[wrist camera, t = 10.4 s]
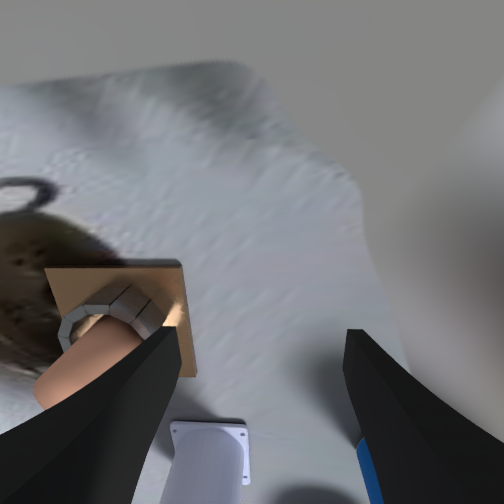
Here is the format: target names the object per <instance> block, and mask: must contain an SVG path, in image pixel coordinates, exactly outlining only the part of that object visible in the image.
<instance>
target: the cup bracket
mask: <svg viewBox="0 0 504 504" xmlns="http://www.w3.org/2000/svg"><path fill="white" fill-rule="evenodd" d="M44 270H45V273H46V275H47V278H48V281H49V284H50V287H51V289H52V292H53V295H54V298H55V301H56V303H57V306H58V309H59V312H60V315H61V317H62V322H61V326H60V329H59V332H58V335H59V336H58V338H59V341H60V344H61V346H62V349H63V352H64V353H65V352H66V351H67V350H68V349H69V348H70V347H71V346H72V345H73V344H74V343H75V342H76V341H77V340H78V339H79V338H80V337H81V336H82V335H83V334H84V333H85V332H86V331H87V330H88V329H89V328H90V327H91V326H92V325H93V324H94V323H96V322H97V321H98V320H99V319H100V318H101V317H102V316H103V315H111V316H113V317H115V318H118V319H120V320H122V321H124V322H126V323H128V324H130V325H131V326H132V327H133V328H134V329H135V330H136V331H137V332H138V334H139V335H140V336H141V337H142V338H143V339H144V340H146V339H147V338H148V337H149V336H150V335H152V334H153V333H154V332H155V331H156V330H158V329H159V328H160V327H161V326H176V330H177V336H178V342H179V347H180V353H181V359H182V365H181V369H180V373H179V376H178V377H196V374H197V367H196V360H195V353H194V346H193V339H192V332H191V325H190V318H189V311H188V304H187V297H186V290H185V283H184V276H183V269H182V265H49V266H47V267H46V268H44Z"/></svg>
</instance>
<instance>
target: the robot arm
mask: <svg viewBox="0 0 504 504" xmlns="http://www.w3.org/2000/svg"><path fill="white" fill-rule="evenodd" d="M181 365H182V359H181V353H180V347H179V342H178V336H177V330H176V326H161V327H160V328H159V329H158V330H156V331H155V332H154V333H153V334H152V335H150V336H149V337H148V338H147V339H146V340H144V341H143V342H142V343H141V344H140V345H138V346H137V347H136V348H135V349H133V350H132V351H131V352H130V353H129V354H127V355H126V356H125V357H124V358H122V359H121V360H120V361H118V362H117V363H116V364H115V365H113V366H112V367H111V368H109V369H108V370H107V371H105V372H104V373H103V374H101V375H100V376H99V377H97V378H96V379H94V380H93V381H92V382H90V383H89V384H87V385H86V386H84V387H83V388H81V389H80V390H78V391H77V392H75V393H73V394H72V395H70V396H69V397H67V398H66V399H64V400H62V401H61V402H59V403H57V404H55V405H54V406H52V407H50V408H49V409H47V410H45V411H43V412H42V413H40V414H38V415H37V416H35V417H33V418H31V419H29V420H28V421H26V422H24V423H22V424H20V425H18V426H16V427H14V428H13V429H11V430H9V431H7V432H5V433H3V434H1V435H0V504H131V502H132V499H133V496H134V492H135V489H136V486H137V483H138V480H139V477H140V474H141V471H142V468H143V465H144V462H145V459H146V456H147V453H148V451H149V448H150V445H151V443H152V440H153V438H154V436H155V433H156V431H157V429H158V426H159V424H160V422H161V419H162V417H163V415H164V412H165V410H166V408H167V405H168V403H169V401H170V398H171V396H172V393H173V391H174V389H175V386H176V383H177V379H178V376H179V373H180V369H181ZM343 372H344V376H345V381H346V385H347V389H348V393H349V396H350V399H351V402H352V405H353V408H354V411H355V413H356V416H357V419H358V422H359V425H360V427H361V430H362V433H363V436H364V439H365V441H366V444H367V447H368V450H369V453H370V456H371V459H372V462H373V465H374V468H375V472H376V476H377V479H378V483H379V487H380V491H381V494H382V498H383V502H384V504H504V443H503V442H501V441H500V440H498V439H496V438H495V437H493V436H492V435H491V434H489V433H488V432H486V431H484V430H483V429H481V428H480V427H478V426H477V425H475V424H474V423H472V422H471V421H470V420H468V419H467V418H465V417H464V416H463V415H461V414H460V413H458V412H457V411H456V410H454V409H453V408H452V407H450V406H449V405H448V404H446V403H445V402H443V401H442V400H441V399H439V398H438V397H437V396H436V395H435V394H433V393H432V392H431V391H429V390H428V389H427V388H426V387H425V386H423V385H422V384H421V383H420V382H419V381H418V380H416V379H415V378H414V377H413V376H412V375H410V374H409V373H408V372H407V371H406V370H405V369H404V368H403V367H401V366H400V365H399V364H398V363H397V362H396V361H395V360H394V359H393V358H392V357H391V356H390V355H389V354H387V353H386V352H385V351H384V350H383V349H382V348H381V347H380V346H379V345H378V344H377V343H376V342H375V341H374V340H373V339H372V338H371V337H370V336H369V335H368V334H367V333H366V332H365V331H364V330H363V329H347V336H346V344H345V352H344V360H343ZM170 431H171V435H172V440H173V445H174V449H175V455H174V459H173V462H172V465H171V468H170V471H169V475H168V478H167V481H166V484H165V487H164V490H163V494H162V497H161V500H160V503H159V504H241V493H242V485H248V484H250V462H249V444H248V428H247V426H246V425H244V424H227V423H205V422H183V421H173V422H171V424H170Z"/></svg>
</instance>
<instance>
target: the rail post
mask: <svg viewBox="0 0 504 504" xmlns="http://www.w3.org/2000/svg"><path fill="white" fill-rule="evenodd" d="M143 341H144V339H143V338H142V337H141V336H140V335H139V334H138V332H137V331H136V330H135V329H134V328H133V327H132V326H131V325H130V324H128V323H126V322H124V321H122V320H120V319H118V318H115V317H113V316H111V315H103V316H102V317H101V318H100V319H99V320H98V321H97V322H96V323H94V324H93V325H92V326H91V327H90V328H89V329H88V330H87V331H86V332H85V333H84V334H83V335H82V336H81V337H80V338H79V339H78V340H77V341H76V342H75V343H74V344H73V345H72V346H71V347H70V348H69V349H68V350H67V351H66V352H65V353H64V354H63V355H62V356H61V357H60V358H59V359H58V360H57V361H56V362H55V363H53V364H52V365H51V366H50V367H49V368H48V369H47V370H46V371H45V372H44V373H43V374H42V375H41V376H40V377H39V378H38V379H37V380H36V382H35V383H34V387H33V392H34V396H35V398H36V400H37V401H38V403H39V404H40V405H41V406H42V407H43V408H44V409H45V410H47V409H49V408H50V407H52V406H54V405H55V404H57V403H59V402H61V401H62V400H64V399H66V398H67V397H69V396H70V395H72V394H73V393H75V392H77V391H78V390H80V389H81V388H83V387H84V386H86V385H87V384H89V383H90V382H92V381H93V380H94V379H96V378H97V377H99V376H100V375H101V374H103V373H104V372H105V371H107V370H108V369H109V368H111V367H112V366H113V365H115V364H116V363H117V362H118V361H120V360H121V359H122V358H124V357H125V356H126V355H127V354H129V353H130V352H131V351H132V350H133V349H135V348H136V347H137V346H138V345H140V344H141V343H142V342H143Z"/></svg>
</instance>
